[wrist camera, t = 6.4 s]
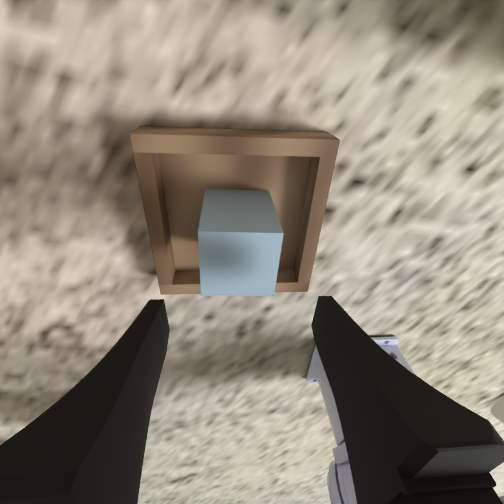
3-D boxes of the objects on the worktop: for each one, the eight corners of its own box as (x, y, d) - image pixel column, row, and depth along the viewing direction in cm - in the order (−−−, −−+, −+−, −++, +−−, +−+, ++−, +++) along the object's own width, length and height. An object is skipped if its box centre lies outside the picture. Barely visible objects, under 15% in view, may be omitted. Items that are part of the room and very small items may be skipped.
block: (269, 190, 19) (283, 233, 15) (263, 243, 22) (273, 295, 17) (205, 188, 19) (197, 231, 14) (206, 243, 22) (201, 295, 17)
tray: (327, 132, 18) (339, 140, 16) (301, 274, 25) (307, 291, 23) (140, 126, 17) (129, 133, 15) (165, 276, 24) (160, 294, 22)
